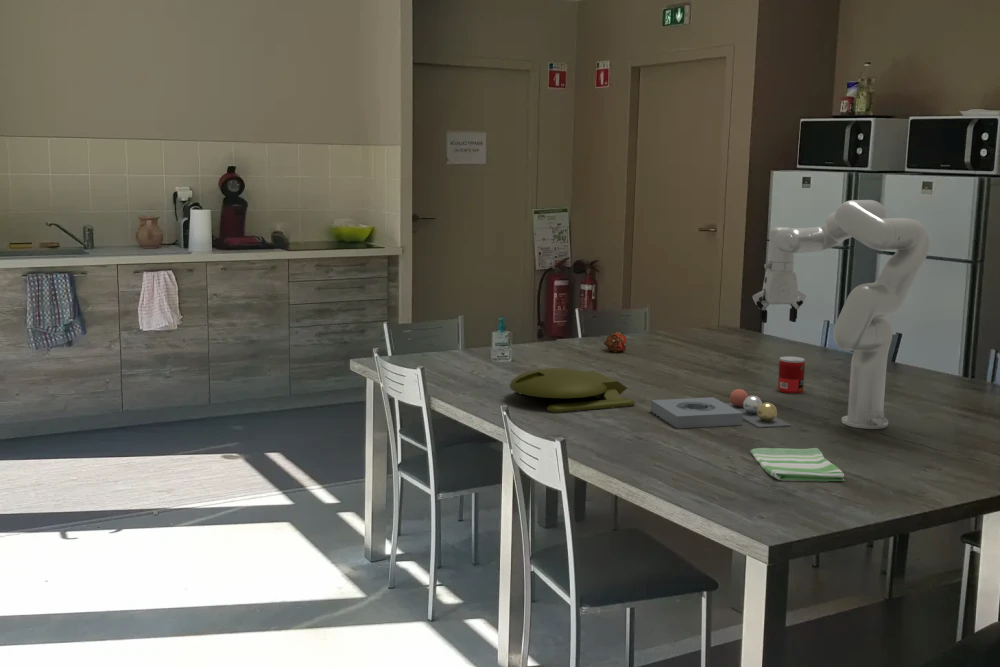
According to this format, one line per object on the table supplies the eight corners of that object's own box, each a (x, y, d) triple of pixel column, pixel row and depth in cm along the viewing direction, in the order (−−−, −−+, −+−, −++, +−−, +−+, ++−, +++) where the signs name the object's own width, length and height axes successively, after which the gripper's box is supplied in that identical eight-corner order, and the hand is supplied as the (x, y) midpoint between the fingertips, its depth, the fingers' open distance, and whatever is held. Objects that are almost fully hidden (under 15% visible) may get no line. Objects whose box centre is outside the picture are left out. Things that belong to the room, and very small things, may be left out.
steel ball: (765, 415, 299) (766, 397, 298) (747, 416, 298) (748, 398, 297) (756, 411, 304) (757, 393, 303) (739, 412, 303) (740, 394, 302)
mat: (791, 426, 289) (791, 424, 289) (758, 427, 286) (758, 426, 286) (746, 403, 316) (746, 402, 316) (716, 405, 313) (716, 403, 313)
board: (742, 424, 290) (742, 413, 289) (676, 428, 285) (677, 416, 285) (712, 408, 309) (713, 397, 308) (650, 411, 305) (651, 400, 304)
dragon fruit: (616, 358, 395) (611, 357, 407) (634, 345, 395) (628, 344, 407) (603, 340, 395) (599, 340, 407) (621, 327, 395) (616, 327, 407)
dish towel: (819, 455, 262) (820, 445, 261) (847, 484, 238) (848, 472, 238) (749, 454, 262) (750, 444, 262) (771, 483, 239) (771, 471, 238)
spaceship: (593, 386, 340) (593, 358, 338) (637, 407, 311) (638, 376, 310) (495, 394, 327) (495, 364, 326) (532, 417, 299) (533, 384, 297)
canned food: (804, 394, 328) (806, 361, 327) (778, 393, 330) (780, 360, 328) (802, 389, 336) (804, 356, 334) (777, 388, 337) (778, 355, 336)
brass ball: (780, 423, 290) (781, 404, 289) (762, 424, 289) (763, 405, 288) (770, 418, 296) (771, 400, 295) (753, 419, 294) (754, 400, 293)
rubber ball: (751, 408, 308) (752, 390, 307) (734, 409, 306) (735, 391, 305) (743, 404, 313) (743, 386, 312) (726, 405, 312) (727, 387, 311)
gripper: (759, 268, 309) (757, 324, 312) (812, 268, 312) (809, 323, 315) (749, 266, 317) (747, 320, 319) (801, 265, 320) (798, 319, 322)
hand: (778, 321), depth 317 cm, fingers open, 9 cm apart
